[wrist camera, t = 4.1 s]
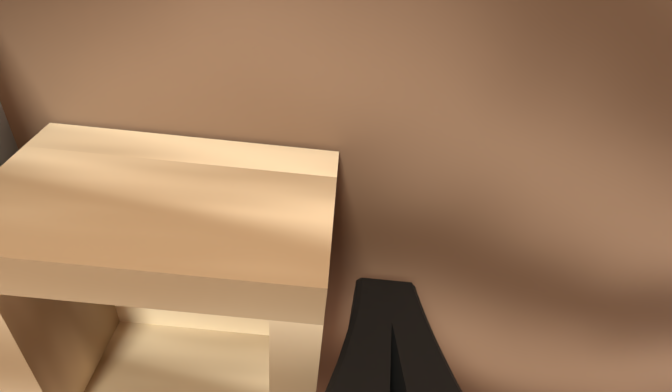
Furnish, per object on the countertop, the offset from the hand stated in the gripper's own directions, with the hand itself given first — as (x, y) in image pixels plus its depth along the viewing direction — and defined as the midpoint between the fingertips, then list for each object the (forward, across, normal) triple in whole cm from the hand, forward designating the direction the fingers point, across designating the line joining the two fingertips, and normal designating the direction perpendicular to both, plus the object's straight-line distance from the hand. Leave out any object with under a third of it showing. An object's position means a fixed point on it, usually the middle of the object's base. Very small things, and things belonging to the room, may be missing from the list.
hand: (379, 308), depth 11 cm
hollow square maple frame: (+2, +4, 0) cm, 5 cm away
